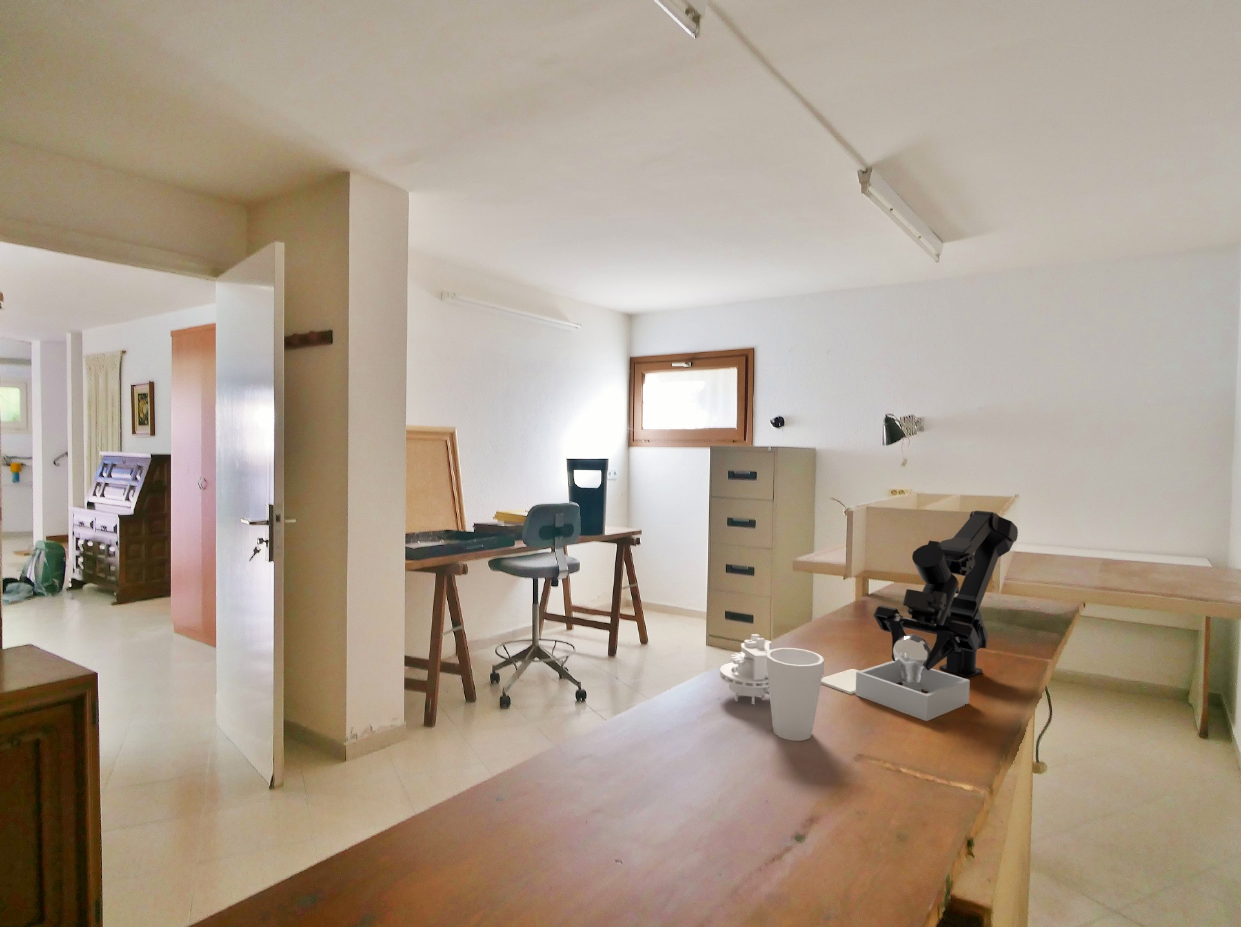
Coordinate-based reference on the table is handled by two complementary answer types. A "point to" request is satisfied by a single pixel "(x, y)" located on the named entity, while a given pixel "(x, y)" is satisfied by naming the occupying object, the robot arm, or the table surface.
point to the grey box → (913, 691)
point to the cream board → (842, 681)
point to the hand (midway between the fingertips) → (910, 664)
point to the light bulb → (912, 659)
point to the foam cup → (794, 690)
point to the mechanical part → (748, 669)
